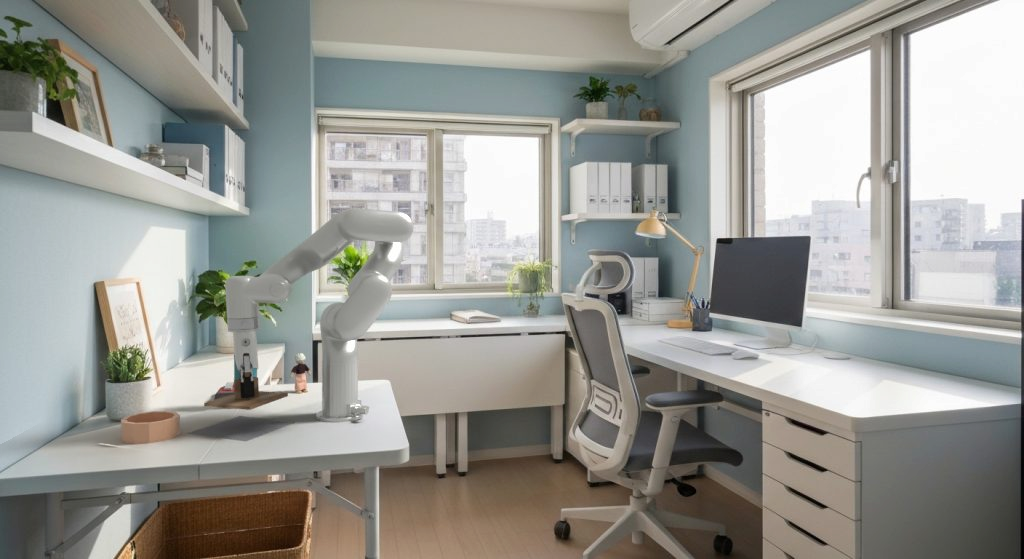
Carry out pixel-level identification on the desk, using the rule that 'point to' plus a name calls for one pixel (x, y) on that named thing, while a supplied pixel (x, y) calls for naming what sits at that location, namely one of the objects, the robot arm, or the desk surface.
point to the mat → (241, 428)
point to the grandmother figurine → (300, 374)
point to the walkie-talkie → (225, 390)
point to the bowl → (150, 427)
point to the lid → (246, 403)
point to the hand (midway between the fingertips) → (246, 394)
